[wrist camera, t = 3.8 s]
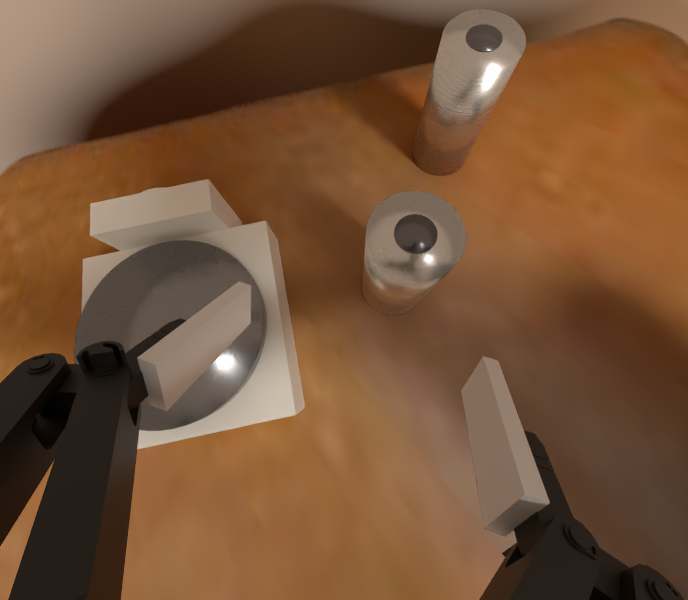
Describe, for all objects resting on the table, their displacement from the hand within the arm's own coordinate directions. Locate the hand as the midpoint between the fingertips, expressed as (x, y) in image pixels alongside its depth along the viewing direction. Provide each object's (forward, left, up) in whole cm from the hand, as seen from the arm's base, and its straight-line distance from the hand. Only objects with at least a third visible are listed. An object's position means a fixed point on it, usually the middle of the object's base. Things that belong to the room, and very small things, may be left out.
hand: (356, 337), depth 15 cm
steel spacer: (-14, -19, -11) cm, 26 cm away
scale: (+14, -6, -11) cm, 19 cm away
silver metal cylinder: (-5, -5, -11) cm, 13 cm away
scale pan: (+14, -4, -6) cm, 16 cm away
